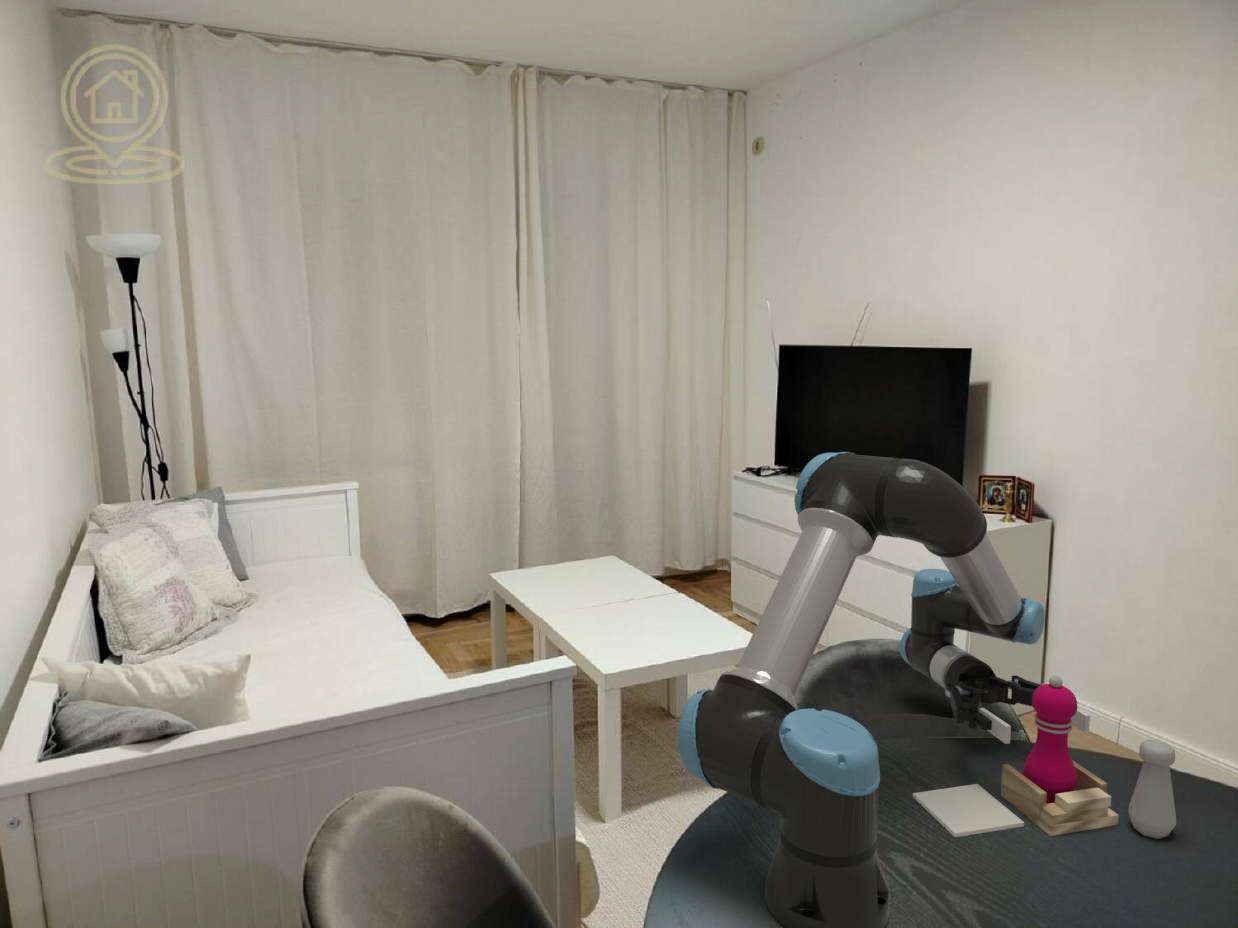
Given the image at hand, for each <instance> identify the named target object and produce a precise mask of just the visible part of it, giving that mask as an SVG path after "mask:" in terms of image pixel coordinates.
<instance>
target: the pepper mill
mask: <svg viewBox="0 0 1238 928" xmlns="http://www.w3.org/2000/svg"><path fill="white" fill-rule="evenodd" d="M1048 679H1049V680H1048V683H1043V684H1041V686H1039V687H1038V688H1037V689H1036V690H1035V691H1034V693H1033V696H1032V705H1033V706H1032V707H1033V709H1034V711H1035V712H1036V713H1035V714H1034V721H1033V722H1034V726H1036V729H1037V734H1036V740H1035V742H1034V745H1033V746H1032V749H1031V751H1030V752H1029V754H1028V755H1027V756H1026V759H1025V762H1024V763H1023V770H1022V773H1023V774H1022V775H1024V776H1025V777H1026V778H1028V779H1029V780H1030V781H1032V782H1033V783H1034V784H1036V785H1037V786H1038V787H1040V788H1041V789H1042V790H1044V791H1045V792H1046V793H1047V798H1046V804H1050V803H1055V794H1058V793H1064V792H1071V791H1073V790H1074V789H1075V787H1076V785H1077V773H1076V769H1075V766H1074V764H1073V761H1074V760H1073V759H1072V757H1071V754H1070V752H1069V747H1068V746H1069V745H1068V738H1069V733H1070V732H1071V731H1072V730H1073V725H1072V723H1073V722H1072V719H1071V718H1072V717H1073V716H1074V715H1075V714H1076V711H1077V708H1078V701H1077V697H1076V696H1075V694H1074V692H1072V690H1070V688H1068V687H1066V686H1064V685H1063V679H1062V677H1060V676H1059V675H1057V674H1054V675H1051V676H1050V677H1049V678H1048ZM1072 760H1073V761H1072Z"/></svg>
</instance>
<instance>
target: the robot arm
mask: <svg viewBox="0 0 1238 928" xmlns="http://www.w3.org/2000/svg"><path fill="white" fill-rule="evenodd" d="M795 489H796V490H797V492H796V493H795V494H794V508H795V509H794V510H795V511H796V515H797V523H798V525H799V528H800V531H801V533H800V535H799V538H798V540H797V542H796V543H795V546H794V547H793V550H792V552H791V554H790V557H789V558H788V561H787V562H786V564H785V567H784V569H783V571H782V573H781V575H780V577H779V579H778V581H777V583H776V586H775V587H774V590H773V592H772V594H771V596H770V597H769V599H768V602H767V604H766V606H765V608H764V610H763V612H762V614H761V616H760V619H759V621H758V623H757V625H756V627H755V629H754V631H753V633H752V635H751V638H750V640H749V642H748V643H747V646H746V647H745V649H744V651H743V654H742V656H741V658H740V660H739V662H738V663H737V667H735V668H734V669H732V670H727V671H724V672H722V673H721V675H720V676H719V678H718V680H717V682H716V683H715V686H714V688H713V689H710V688H707V689H700V690H698V691H697V692H696V693H693V694H692V695H691V696H690V698H688V700H687V701H686V703H685V704H684V707H683V710H682V711H681V712H682V713H681V715H680V719H679V722H678V727H677V728H678V729H677V744H678V755H679V758H680V761H681V763H682V765H683V767H684V769H685V770H686V771H687V773H688V774H690V775H691V776H692V777H694V778H695V779H697V780H699V781H701V782H704V783H706V784H707V785H708V786H709V787H711V788H712V789H717V790H722V791H724V792H727V793H729V794H731V795H734V796H735V797H736V796H737V797H739V798H740V799H744V800H745V801H748V802H749V803H753V804H755V805H757V806H759V807H762V808H764V809H767V810H769V811H771V812H773V813H776V814H778V815H779V841H778V844H777V847H776V848H775V851H774V854H773V856H772V859H771V863H770V865H769V868H768V870H767V873H766V876H765V885H764V886H765V888H764V889H765V891H764V896H765V904H766V906H767V908H768V910H769V912H770V914H771V916H773V918H774V919H775V920H776V921H777V922H778V923H779V924H780V925H782V926H783V927H784V928H885V927H886V925H887V923H888V921H889V918H890V913H891V911H890V910H891V894H890V889H889V886H888V882H887V878H886V876H885V873H884V870H883V866H882V863H881V861H880V860H881V859H880V858H879V854H878V851H877V841H878V816H879V815H878V814H879V813H878V812H879V794H880V793H879V790H880V789H879V788H880V787H879V786H880V782H881V770H880V762H879V748H878V745H877V742H876V741H875V740H874V737H873V735H872V734H871V733H870V731H868V729H867V728H866V727H865V726H863V725H862V724H861V723H859V722H858V721H856V720H855V719H853V718H851V717H850V716H847V715H846V714H845V715H844V714H842V713H840V712H836V711H832V710H829V709H821V710H816V709H815V708H802V709H799V708H798V706H797V703H796V701H795V696H796V694H797V692H798V689H799V688H800V685H801V683H802V680H803V678H804V676H805V674H806V671H807V669H808V667H809V666H810V665H809V664H810V663H811V660H812V657H813V656H814V654H815V651H816V649H817V647H818V645H819V642H820V640H821V637H822V636H823V633H824V631H825V629H826V626H827V624H828V623H829V619H830V618H831V616H832V613H833V611H834V609H835V606H836V604H837V602H838V600H839V597H840V595H841V593H842V590H843V588H844V586H845V585H846V581H847V579H848V578H849V575H850V572H851V571H852V568H853V566H854V563H855V561H856V560H857V559H856V558H857V557H860V556H864V555H867V554H868V553H870V552H871V551H872V549H873V547H874V545H875V543H876V540H877V538H878V537H879V536H881V537H882V536H884V537H888V538H889V537H890V538H891V537H892V538H899V539H903V540H909V541H914V542H916V543H918V544H919V543H920V544H922V545H923V546H924V547H925V548H926V550H927V551H928V552H930V554H932V555H935V556H937V557H938V558H940V559H941V561H942V563H943V565H945V567H946V569H947V570H946V569H943V568H942V569H941V568H924V569H921V570H919V571H917V572H916V573H915V574H913V575H914V576H913V580H912V581H913V582H912V588H911V589H912V591H911V593H910V595H911V609H910V610H911V612H910V613H911V620H910V621H911V623H910V626H911V627H910V628H909V629H907V630H906V631H905V632H904V633H903V635H902V637H901V639H900V641H899V642H898V643H899V647H898V648H899V653H900V656H901V657H902V658H903V660H904V661H905V663H908V665H910V667H911V668H912V669H914V670H915V671H916V672H919V673H921V674H922V675H925V676H926V677H927V678H929V680H930V679H931V680H932V681H933V682H934V683H936V684H938V685H939V686H940V687H942V688H943V689H945V690H944V691H945V692H944V693H945V694H944V699H945V700H946V701H947V702H949V703H950V706H951V709H952V713H953V717H954V721H955V723H957V724H964V723H965V722H968V723H967V725H968V728H969V729H977V726H978V727H979V728H980V729H982V730H984V731H987V732H988V733H989V734H991V735H992V736H994V737H995V738H997V739H998V740H1000V741H1001V742H1002V743H1004V745H1005V744H1007V745H1008V744H1009V745H1010V744H1011V735H1012V733H1011V731H1012V726H1011V725H1010V724H1008V723H1007V722H1005V721H1004V720H1003V719H1001V718H1000V717H998V716H996V715H995V714H994V713H992V712H990V711H989V710H988V709H986V708H985V707H983V704H987V705H991V704H997V703H998V704H999V703H1003V704H1008V705H1012V706H1015V705H1016V704H1021V705H1026V706H1028V707H1033V705H1032V696H1033V693H1034V691H1035V690H1036V689H1037V688H1038V687H1039V686H1041V685H1042V684H1040V683H1038V682H1034V681H1031V680H1028V679H1025V678H1023V677H1020V676H1019V675H1012V676H1011V680H1005V679H1003V678H1000V677H998V676H996V673H995V672H994V670H993V668H992V667H991V666H990V665H989V664H987V663H986V662H985V661H983V660H981V659H979V658H978V657H975V656H974V654H971V653H969V652H967V651H966V650H964V649H962V648H960V647H958V646H957V645H955V643H954V641H955V640H954V638H955V634H956V633H955V632H956V630H961V631H965V632H969V633H974V634H978V635H982V636H986V637H991V638H996V639H999V640H1004V641H1008V642H1011V643H1014V644H1015V643H1018V644H1019V643H1020V644H1025V645H1035V644H1036V643H1038V641H1040V638H1041V636H1042V634H1043V631H1044V626H1045V621H1046V620H1045V619H1046V618H1045V617H1046V613H1045V607H1044V605H1043V604H1042V602H1040V601H1037V600H1034V599H1030V598H1028V597H1024V598H1023V597H1021V595H1020V594H1019V593H1018V590H1017V588H1016V587H1015V584H1014V583H1013V580H1012V579H1011V578H1010V575H1009V574H1008V572H1007V570H1006V569H1005V567H1004V565H1003V563H1002V560H1001V559H1000V558H999V556H998V553H997V551H996V549H995V548H994V546H993V544H992V543H991V541H990V539H989V536H988V534H987V531H988V522H987V518H986V516H985V514H984V512H983V510H982V508H981V506H980V505H979V504H978V502H977V500H976V499H975V498H974V496H972V495H971V493H969V492H968V491H967V489H966V488H965V487H964V486H963V485H961V484H960V483H959V482H958V481H957V480H955V479H954V478H953V477H951V476H950V475H949V474H948V473H946V472H945V471H943V470H941V469H940V468H938V467H935V466H933V465H931V464H929V463H927V462H924V461H920V460H917V459H912V458H911V459H910V458H898V457H885V456H877V455H876V456H873V455H866V454H865V455H864V454H863V455H861V454H856V453H854V452H849V451H842V452H841V451H840V452H825V453H821V454H820V453H819V454H818V455H816V456H815V457H813V458H812V459H811V460H810V461H809V462H808V463H807V464H806V465H805V467H804V468H803V469H802V471H801V473H800V475H799V477H798V479H797V482H796V486H795ZM1009 690H1010V691H1011V697H1009ZM964 703H965V704H969V707H968V708H966V707H965V704H964ZM1071 719H1072V722H1073V723H1072V727H1074V728H1077V729H1078V730H1079V731H1081V732H1083V733H1085V734H1086V733H1089V732H1090V723H1091V722H1090V721H1091V715H1090V714H1089V713H1087V712H1085V711H1083V710H1082V709H1080V708H1078V707H1077V711H1076V714H1075V715H1074V716H1073V717H1072V718H1071Z"/></svg>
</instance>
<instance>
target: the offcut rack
mask: <svg viewBox="0 0 1238 928" xmlns="http://www.w3.org/2000/svg"><path fill="white" fill-rule="evenodd" d="M1072 761H1073V764H1074V766H1075V769H1076V773H1077V785H1076V787H1075V789H1074V790H1073V791H1071V792H1064V793H1058V794H1055V803H1050V804H1046V798H1047V793H1046V792H1045V791H1044V790H1042V789H1041V788H1040V787H1038V786H1037V785H1036V784H1034V783H1033V782H1032V781H1030V780H1029V779H1028V778H1026V777H1025V776H1024V775H1023V774H1022V773H1021V772H1019V770H1017V769H1015V768H1014V767H1013V766H1012V765H1010V764H1009V763H1006V764H1002V765H1001V788H1000V796H1001V797H1002V798H1003V799H1004V800H1005V801H1007V802H1008V803H1009V804H1011V806H1013V807H1014V808H1015V809H1016V810H1018V811H1019V812H1021V814H1023V815H1024V816H1025V817H1027V818H1028V819H1029V820H1030V821H1031V822H1033V823H1034V824H1035V825H1036V826H1037V827H1039V828H1040V829H1041V830H1042V831H1044V832H1045V833H1046V834H1047V835H1049V837H1053V836H1059V835H1066V834H1071V833H1072V834H1073V833H1077V832H1083V831H1089V830H1094V829H1095V830H1096V829H1101V828H1102V829H1103V828H1109V827H1112V826H1119V820H1120V819H1119V818H1120V815H1119V814H1118V813H1116V812H1115V811H1114V810H1112V809H1111V808H1110V807H1111V805H1112V796H1111V795H1110V794H1108V792H1107V791H1108V783H1107V782H1106V781H1104V780H1103V779H1102V778H1100V777H1098V776H1097V775H1095V774H1093V773H1092V772H1090V771H1089V770H1088V769H1086V768H1085V767H1083V766H1082V765H1080V763H1079V764H1078V763H1077V762H1076V761H1075V760H1073V759H1072Z"/></svg>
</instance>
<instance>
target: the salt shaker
mask: <svg viewBox="0 0 1238 928" xmlns="http://www.w3.org/2000/svg"><path fill="white" fill-rule="evenodd" d="M1175 750H1176V749H1174V747H1172V745H1170V743H1167V742H1165V741H1162V740H1158V739H1146V740H1144V741H1142V742H1141V743H1140V744H1139V757H1140V759H1142V760H1143V761H1142V764H1141V768H1140V773H1139V775H1138V778H1137V782H1136V783H1135V787H1134V791H1133V793H1132V797H1131V799H1130V803H1129V805H1128V816H1129V818H1130V821H1131V824H1132V826H1133V830H1136V831H1137V832H1138V833H1139V834H1141V835H1142V836H1144V837H1148V838H1153V839H1157V840H1160V839H1163V838H1165V837H1168V836H1169V835H1170V834H1171V833H1172V831H1173V829H1174V828H1175V826H1176V825H1177V814H1176V807H1175V799H1174V790H1173V781H1172V775H1171V768H1170V766H1172V765H1173V764H1175V761H1176V751H1175Z"/></svg>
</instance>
